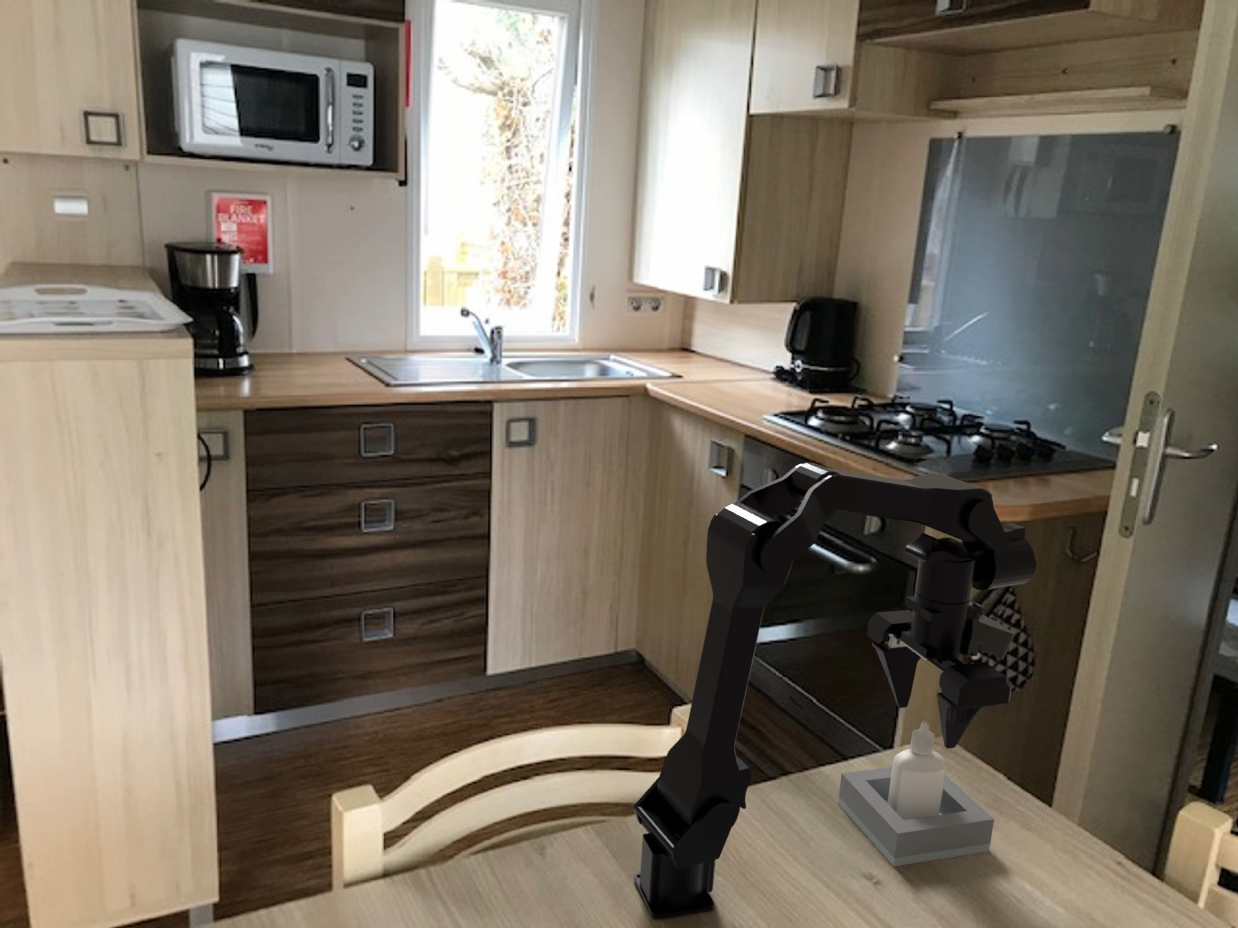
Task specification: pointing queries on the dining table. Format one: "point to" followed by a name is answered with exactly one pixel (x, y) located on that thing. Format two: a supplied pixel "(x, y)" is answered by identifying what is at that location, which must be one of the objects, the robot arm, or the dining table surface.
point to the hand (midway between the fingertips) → (925, 726)
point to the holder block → (914, 820)
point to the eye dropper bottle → (917, 777)
